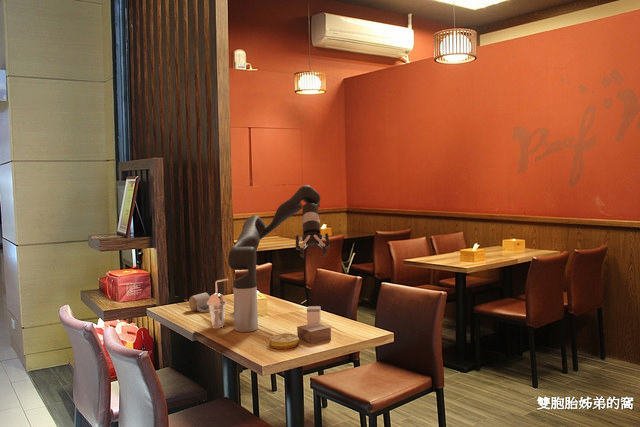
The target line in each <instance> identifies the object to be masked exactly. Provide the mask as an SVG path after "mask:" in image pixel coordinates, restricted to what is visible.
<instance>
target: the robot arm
mask: <svg viewBox="0 0 640 427" xmlns="http://www.w3.org/2000/svg"><path fill="white" fill-rule="evenodd" d="M302 201H303V202H304V204H303V203H302ZM320 203H321V196H320V193H319V192H318V191H317V190H315V189H314V188H313V187H312V186H311V185H309V184H306V185H302V186H301V187H299V188H298V189H297V191H296V192H295V193H294V194H293V195H292V196H291V197H290V198H289V199H287V200H286V201H284V202H282V203H281V204H280V205H279V206H278V207H277V209H276V211H275V213H274V216H273V218H272V220H271V222H270V223H269V224H268V225H266V224H265V222H264V221H263V219H262V218H261V217H260V216H259V215H257V214H256V215H251V216H249V217H247V219H246V220H245V221H244V223H243V224H242V229H241V233H240V234H239V236H238V238H237V241H236V242H235V244H234V245H232V247H231V248H230V249H229V252H228V255H227V256H228V259H227V262H228V266H229V267H230V269H232V270H234V271H247V273H246V274H244V275H242V276H240V277H238V278H235V279H234V280H233V282H232V283H233V286H232V287H233V289H232V290H233V320H234V321H233V323H234V325H233V326H234V330H235V331H236V332H239V333H248V332H249V333H250V332H254V331H257V330H259V322H258V321H259V320H258V318H259V317H258V316H259V314H258V290H257V289H258V288H257V287H258V286H257V251H256V250H257V249H258V247H259V245H260V240H262V239H263V238H265V237H266V236H268V235H269V234H270V233H271V232H273V230H275V229H276V228H277V227H279V226H280V225H281V224H282V223H283V222H285V221H287V219H289V218H291V217H292V216H294V215H295V214H297V213H299V212H300V211H301V210H302V213H301V214H302V221H301V224H302V235H301V236H299V235H296V236H295V250H296V251H299V252H300V257H301V258H302V259H305V251H304V250H305V249H306V248H307V247H308V246H309V247H311V246H319V247H320V248H321V249H322V258H325V256H326V255H327V250H326V249H329V248H330V247H331V246H330V239H329V234H328V233H325V234H321V221H320V218H319V216H320V215H319V207H320ZM323 240H324V241H325V243H324V242H323ZM301 241H302V243H301ZM300 243H301V244H300Z"/></svg>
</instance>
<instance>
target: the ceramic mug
mask: <svg viewBox="0 0 640 427" xmlns="http://www.w3.org/2000/svg"><path fill="white" fill-rule="evenodd" d="M210 296H211V295H209V294H208V292H203V293H198V294H195V295H191V296H190V297H189V299H188V300H189V301H188V304H189V308H190V310H191V311H192V312H200V313H202V312H206V313H209V312H210V310H209V305H207V302H208V301H209V298H210ZM204 309H205V310H204ZM208 311H209V312H208Z"/></svg>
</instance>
